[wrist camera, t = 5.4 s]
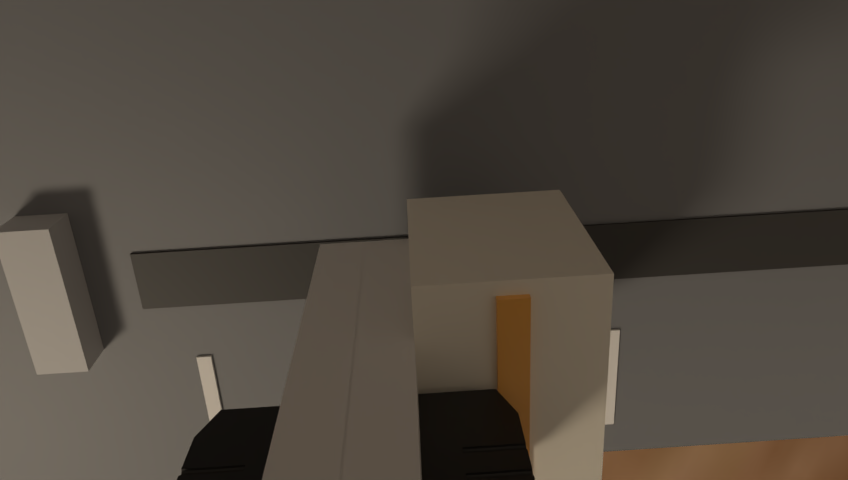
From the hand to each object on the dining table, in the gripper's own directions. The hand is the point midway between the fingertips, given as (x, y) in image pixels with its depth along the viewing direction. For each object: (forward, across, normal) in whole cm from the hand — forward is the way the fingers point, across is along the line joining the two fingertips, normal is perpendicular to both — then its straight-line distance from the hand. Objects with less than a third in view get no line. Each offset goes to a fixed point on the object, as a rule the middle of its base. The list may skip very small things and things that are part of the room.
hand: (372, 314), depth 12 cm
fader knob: (+2, +2, 0) cm, 3 cm away
